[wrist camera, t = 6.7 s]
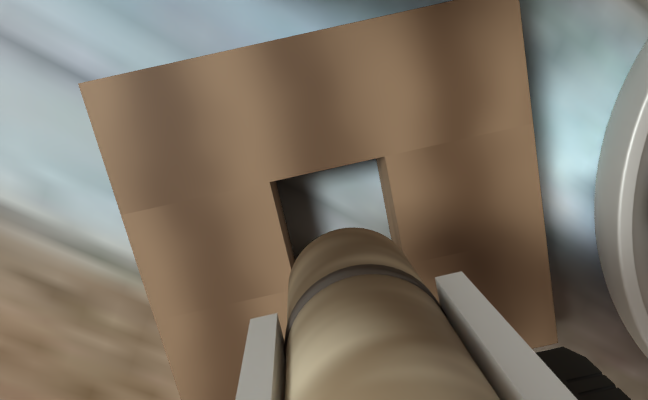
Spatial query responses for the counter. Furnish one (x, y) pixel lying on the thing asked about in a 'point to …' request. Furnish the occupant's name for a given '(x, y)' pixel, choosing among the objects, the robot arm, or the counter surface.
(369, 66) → the board
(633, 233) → the bowl
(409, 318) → the peg
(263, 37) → the counter surface
